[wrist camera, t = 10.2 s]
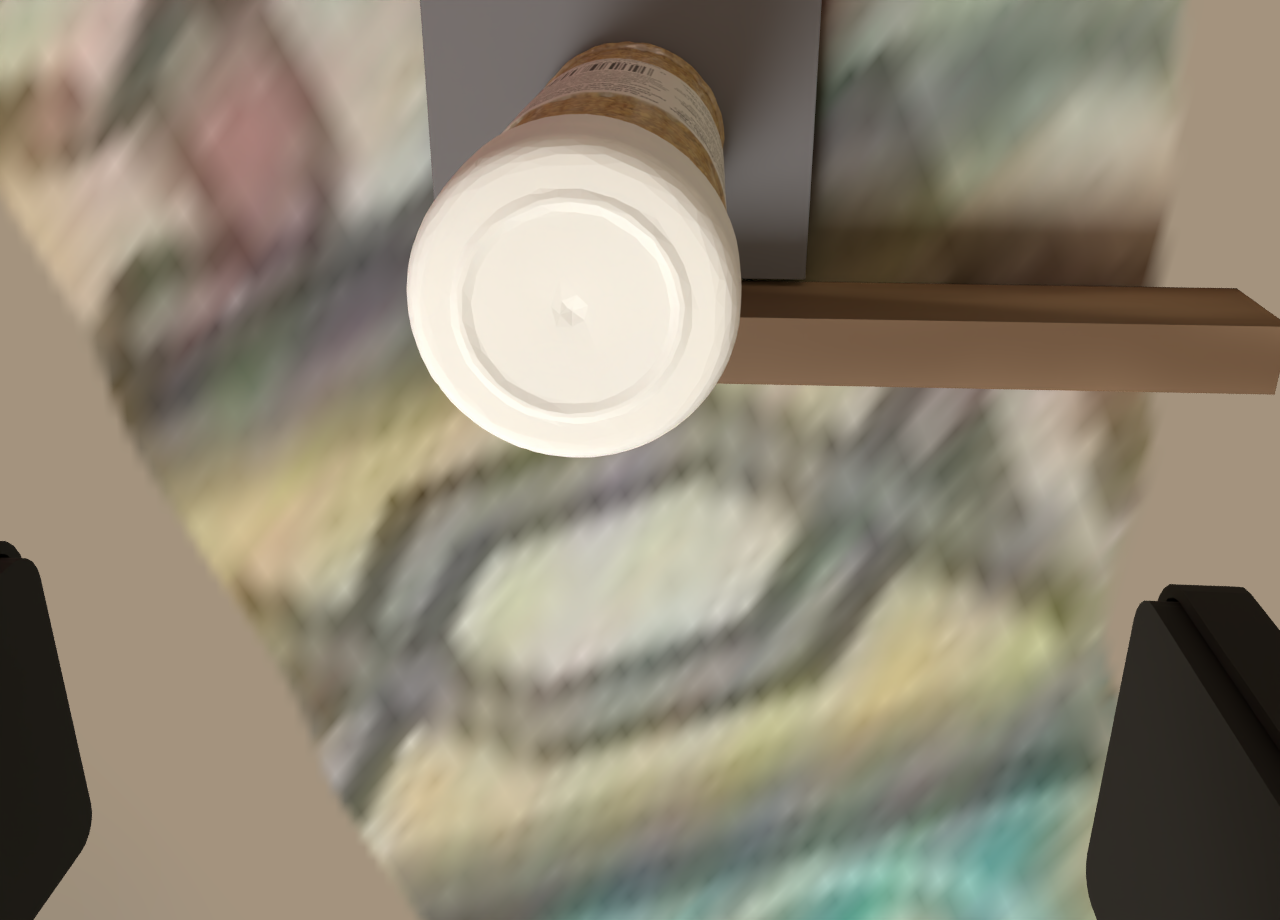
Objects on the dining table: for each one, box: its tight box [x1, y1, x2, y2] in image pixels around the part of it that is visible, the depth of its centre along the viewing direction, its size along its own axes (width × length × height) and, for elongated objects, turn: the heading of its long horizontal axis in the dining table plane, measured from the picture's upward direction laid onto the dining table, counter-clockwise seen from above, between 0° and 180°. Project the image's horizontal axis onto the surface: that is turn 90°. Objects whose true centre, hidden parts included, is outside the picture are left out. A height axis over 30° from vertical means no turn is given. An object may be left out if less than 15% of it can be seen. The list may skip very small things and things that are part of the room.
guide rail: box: [717, 281, 1280, 394], centre depth 29 cm, size 2×17×3 cm, turn 90°
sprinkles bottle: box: [407, 41, 742, 457], centre depth 22 cm, size 5×5×14 cm
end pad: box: [420, 0, 822, 279], centre depth 28 cm, size 7×9×1 cm
